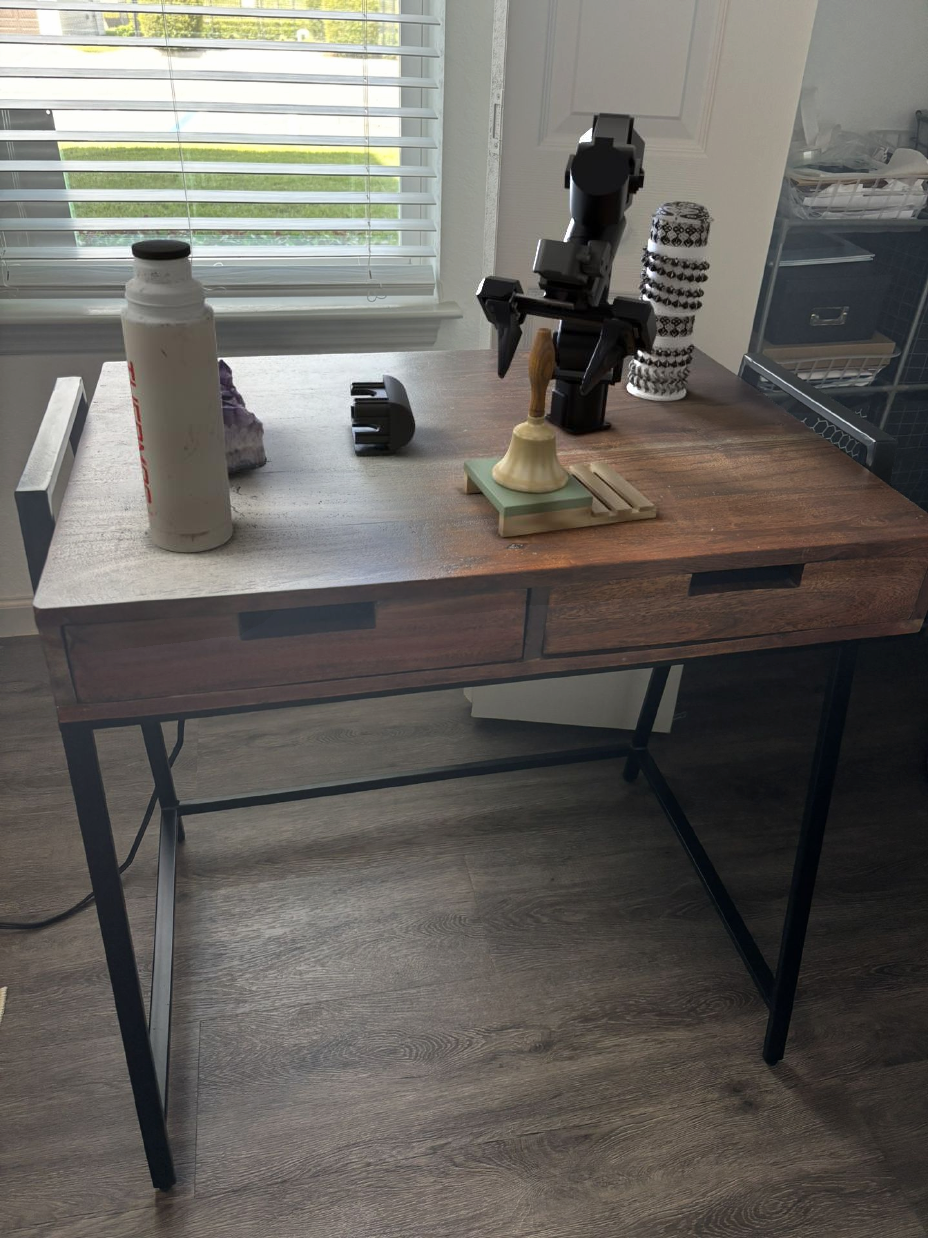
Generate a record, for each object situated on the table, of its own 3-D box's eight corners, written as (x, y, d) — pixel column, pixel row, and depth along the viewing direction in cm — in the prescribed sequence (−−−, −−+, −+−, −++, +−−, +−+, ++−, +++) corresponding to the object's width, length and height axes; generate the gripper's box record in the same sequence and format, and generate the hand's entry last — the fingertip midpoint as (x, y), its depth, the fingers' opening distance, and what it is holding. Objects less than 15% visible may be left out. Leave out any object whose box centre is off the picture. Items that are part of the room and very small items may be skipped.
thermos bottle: (144, 553, 97) (101, 252, 82) (158, 515, 103) (121, 231, 89) (228, 552, 98) (200, 254, 83) (237, 516, 104) (213, 234, 89)
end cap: (415, 456, 119) (416, 402, 116) (355, 457, 118) (354, 403, 115) (406, 425, 128) (407, 373, 124) (350, 426, 127) (349, 374, 123)
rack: (606, 472, 118) (609, 445, 116) (656, 517, 108) (660, 487, 107) (462, 489, 112) (464, 460, 110) (502, 537, 103) (504, 506, 101)
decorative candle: (610, 386, 144) (633, 200, 130) (655, 375, 149) (682, 195, 135) (656, 406, 138) (685, 213, 124) (701, 394, 143) (734, 208, 129)
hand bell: (577, 469, 110) (593, 323, 101) (556, 499, 103) (572, 346, 94) (505, 456, 112) (515, 312, 103) (480, 484, 105) (489, 333, 97)
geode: (148, 426, 124) (149, 345, 119) (243, 430, 128) (247, 352, 123) (161, 488, 107) (163, 397, 103) (269, 490, 112) (275, 403, 107)
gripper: (488, 193, 102) (437, 328, 99) (666, 216, 96) (616, 361, 93) (513, 258, 112) (467, 382, 110) (675, 283, 106) (630, 415, 103)
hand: (540, 384), depth 104 cm, fingers open, 9 cm apart
